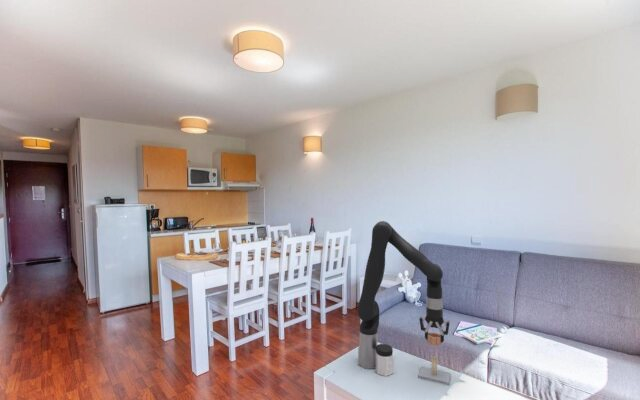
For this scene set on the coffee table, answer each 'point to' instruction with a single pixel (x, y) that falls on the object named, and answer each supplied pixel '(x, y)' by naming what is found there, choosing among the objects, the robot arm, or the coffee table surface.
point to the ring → (434, 338)
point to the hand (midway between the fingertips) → (434, 340)
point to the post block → (434, 373)
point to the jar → (384, 359)
